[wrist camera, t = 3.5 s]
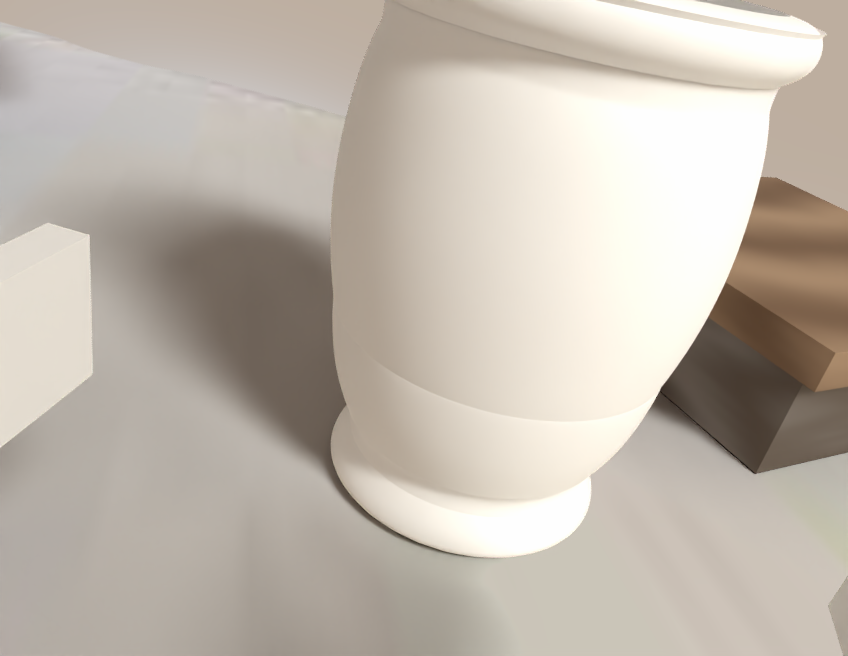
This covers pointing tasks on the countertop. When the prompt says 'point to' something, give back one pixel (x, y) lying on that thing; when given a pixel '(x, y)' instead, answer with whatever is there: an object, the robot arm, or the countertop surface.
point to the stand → (776, 337)
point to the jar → (534, 243)
